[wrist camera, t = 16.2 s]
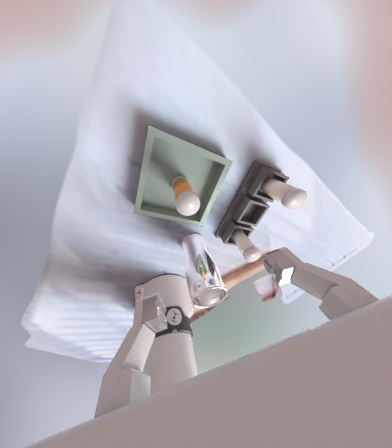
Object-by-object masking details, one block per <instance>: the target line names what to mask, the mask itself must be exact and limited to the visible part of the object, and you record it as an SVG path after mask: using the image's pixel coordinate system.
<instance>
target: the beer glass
mask: <svg viewBox="0 0 392 448" xmlns="http://www.w3.org/2000/svg"><path fill="white" fill-rule="evenodd" d="M182 248H183V250H184V252H185V256H186V265H185V271H186V281H187V286H188V290H189V294H190V298H191V301H192V305H193V306H194V307H196V308H209V307H212V306H215V305H217V304H219V303H220V302H222V301H223V300H224V299H225V298H226V296H227V290H226V287H225V284H224V281H223V278H222V275H221V273H220V271H219V268H218V266H217V264H216V263H215V261H214V260H213V258H212V257H211V255H210V254H209V252H208V251H207V249H206V247H205V241H204V238H203V236H202V235H200V234H197V233H193V234H189V235H187V236H186V237H185V238H184V239H183V240H182Z"/></svg>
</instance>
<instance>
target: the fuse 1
mask: <svg viewBox="0 0 392 448" xmlns="http://www.w3.org/2000/svg"><path fill="white" fill-rule="evenodd" d="M230 237H231V238H232V239H233V241H234V242H235V244H236V245H237V247H238V248H239V250H240V251H241V253H242V254H243V256H244V258H245V259H246V261H247V262H253V261H256V260H257V259H258V258H259V257H260V256H261V252H260V250H259V249H258V248H257V247H256V246H255V245H254V244H253V243H252V241H251V240H250V239H249V238H248V237H247V235H246V234H245V233H244V232H243V230H242V229H240V228H235V230H234V231H233V233H232V235H231V236H230Z"/></svg>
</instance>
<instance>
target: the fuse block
mask: <svg viewBox="0 0 392 448" xmlns="http://www.w3.org/2000/svg"><path fill="white" fill-rule="evenodd" d="M267 175H269V176H271V177H273V178H274V179H277V180H279V181H281V182H284V183H286V182H287V180H288V179H289V177H287V176H285V174H283V173H281V172H279V171H276V170H274V169H272V168H270V167H268V166H266V165H264V164H261V163H259V162H257V161H254V163H253V165H252V167H251V168H250V170H249V172H248V174H247V176H246V178H245V180H244V182H243V183H242V185H241V187H240V189H239V191H238V193H237V195H236V197H235V198H234V200H233V202H232V204H231V206H230V208H229V210H228V212H227V213H226V215H225V217H224V219H223V221H222V223H221V225H220V227H219V228H218V230H217V232H216V234H215V236H216V238H221V239H222V241H223V243H224V244H229V245H235V246H237V245H236V244H235V242H234V241H233V239H232V238H231V237H230V236H231V235H232V233H233V231H234V230H235V228H240V229H242V230H243V232H244V233H245V234H246V235H247V237H249V236H250V234H251V233H252V231H253V230H254V229H253V228H252V227H251V226H257V224H258V223H259V221H260V220H261V218H262V217H263V215H264V214H265V212H266V211H267V210H268V208H269V207H270V206H269V205H268V204H266V203H267V201H269V202H273V201H274V199H273V198H272V197H270V196H268V195H267V194H265V193H264V192H261V191H259V188H260V187H261V185H262V183H263V182H264V180H265V179H266V177H267Z"/></svg>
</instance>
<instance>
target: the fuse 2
mask: <svg viewBox="0 0 392 448" xmlns="http://www.w3.org/2000/svg"><path fill="white" fill-rule="evenodd" d="M259 191H261V192H264V193H265V194H267V195H268V196H270V197H272V198H273V199H275V200H276V201H278V202H280V203H281V204H283V206H285V207H287V208H288V209H291V210H293V209H296V208H298V207H299V206H301V205H302V204H303V202H304V201H305V199H306V196H307V194H306V192H305V191H304V190H301V189H299V188H295V187H293V186H290V185H288V184H286V183H284V182H281V181H279V180H277V179H274V178H273V177H271V176H269V175H267V177H266V179H265V180H264V182H263V183H262V185H261V187H260V188H259Z"/></svg>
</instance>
